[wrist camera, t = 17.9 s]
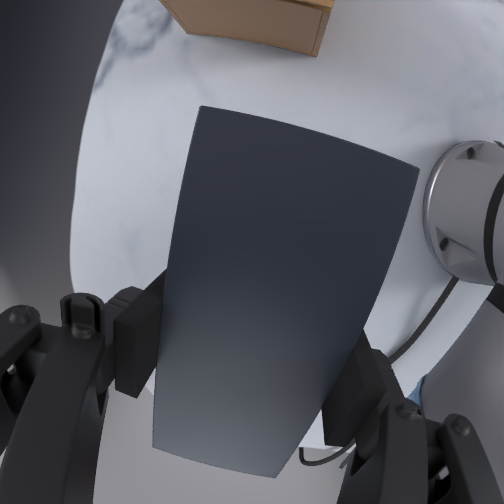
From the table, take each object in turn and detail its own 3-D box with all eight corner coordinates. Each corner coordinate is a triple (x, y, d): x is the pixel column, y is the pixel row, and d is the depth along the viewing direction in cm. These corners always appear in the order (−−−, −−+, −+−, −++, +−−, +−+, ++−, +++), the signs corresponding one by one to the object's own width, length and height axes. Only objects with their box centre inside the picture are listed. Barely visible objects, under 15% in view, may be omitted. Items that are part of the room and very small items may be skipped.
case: (279, 410, 16) (275, 478, 11) (180, 384, 16) (152, 447, 11) (370, 165, 12) (420, 168, 7) (232, 127, 12) (199, 104, 7)
